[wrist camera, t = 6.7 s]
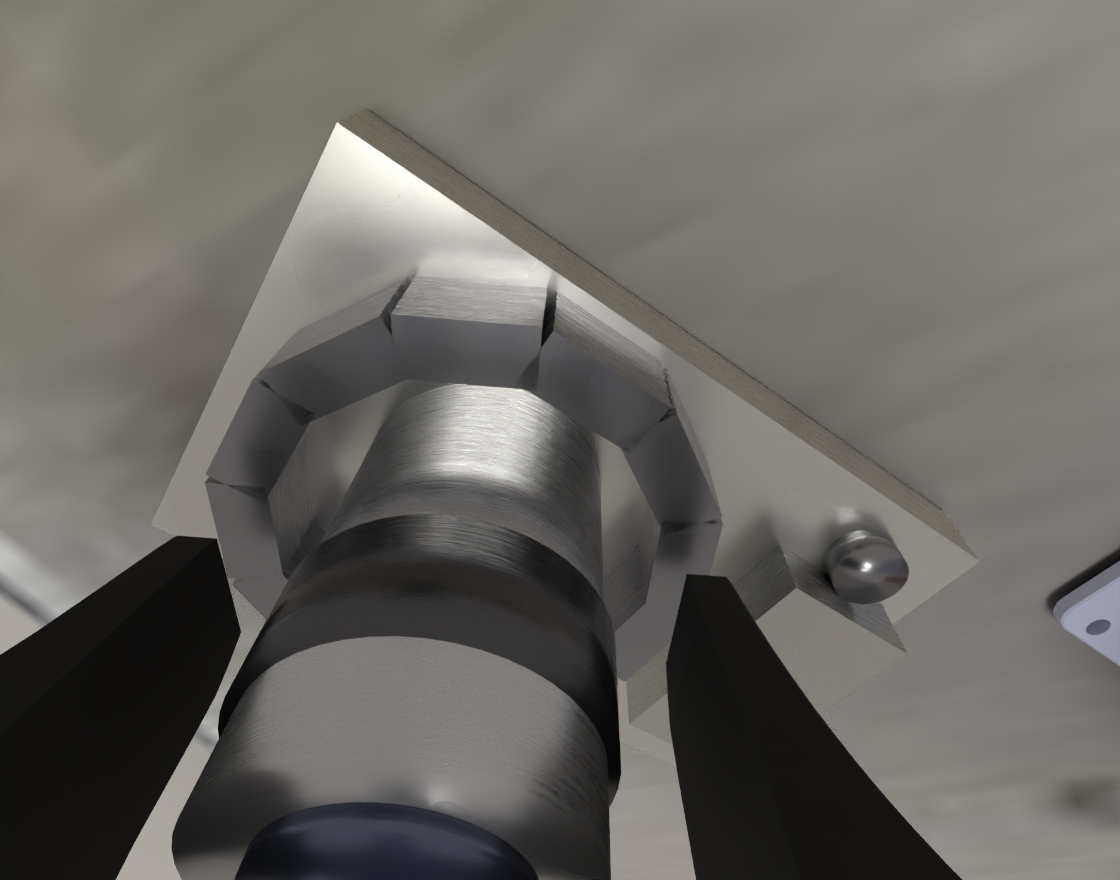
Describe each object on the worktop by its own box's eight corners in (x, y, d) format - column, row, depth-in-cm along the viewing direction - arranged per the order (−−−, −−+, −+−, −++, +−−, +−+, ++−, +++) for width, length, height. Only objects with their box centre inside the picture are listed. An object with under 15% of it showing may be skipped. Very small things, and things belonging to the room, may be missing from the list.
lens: (588, 590, 14) (587, 1029, 8) (363, 562, 14) (184, 989, 8) (629, 393, 12) (675, 807, 5) (357, 356, 11) (89, 741, 5)
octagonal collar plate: (944, 511, 15) (1024, 622, 12) (679, 718, 19) (694, 835, 16) (367, 109, 11) (295, 139, 8) (189, 479, 15) (102, 581, 12)
